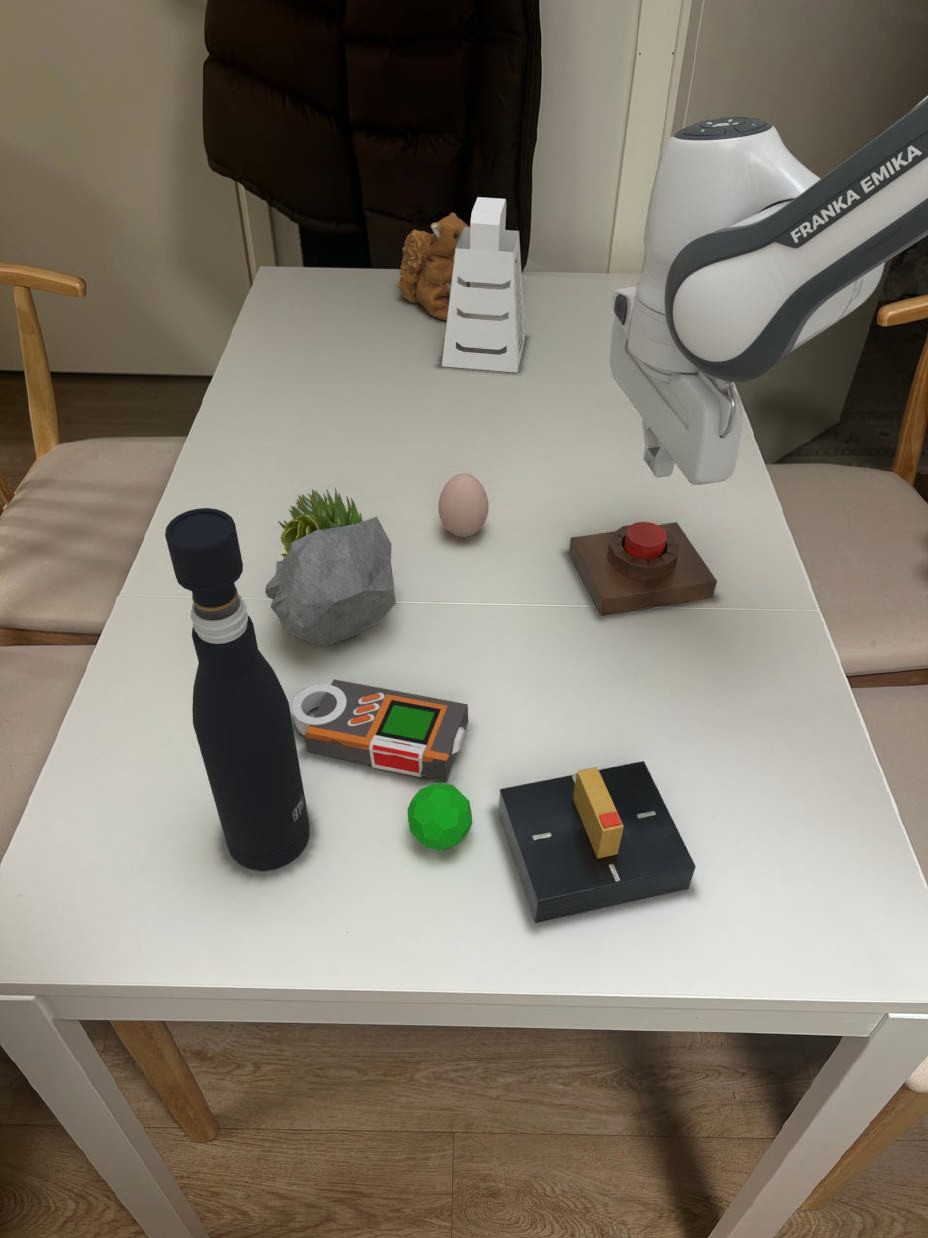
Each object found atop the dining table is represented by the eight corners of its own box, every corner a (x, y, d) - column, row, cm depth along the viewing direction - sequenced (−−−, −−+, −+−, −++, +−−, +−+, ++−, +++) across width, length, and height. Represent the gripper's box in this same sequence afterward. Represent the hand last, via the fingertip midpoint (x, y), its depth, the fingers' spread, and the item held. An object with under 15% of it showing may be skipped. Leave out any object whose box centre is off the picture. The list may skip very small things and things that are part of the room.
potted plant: (261, 655, 82) (209, 528, 89) (359, 668, 93) (306, 554, 99) (349, 570, 78) (287, 442, 84) (442, 593, 88) (380, 478, 94)
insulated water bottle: (222, 812, 74) (137, 504, 54) (302, 793, 76) (249, 486, 55) (232, 881, 70) (144, 572, 49) (317, 859, 71) (265, 551, 51)
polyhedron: (407, 809, 75) (406, 772, 71) (469, 806, 75) (470, 769, 72) (409, 863, 71) (407, 827, 68) (473, 860, 71) (475, 823, 68)
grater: (525, 337, 135) (533, 193, 122) (517, 372, 128) (526, 223, 114) (453, 332, 136) (454, 188, 123) (441, 366, 129) (441, 217, 115)
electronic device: (307, 671, 82) (471, 702, 79) (312, 694, 84) (472, 725, 81) (276, 727, 78) (448, 762, 74) (281, 750, 80) (450, 785, 76)
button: (654, 532, 96) (657, 519, 95) (670, 556, 93) (673, 542, 92) (618, 538, 95) (620, 524, 94) (632, 562, 92) (635, 548, 91)
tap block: (638, 783, 77) (644, 759, 75) (688, 889, 70) (696, 865, 68) (498, 811, 75) (499, 787, 72) (535, 923, 68) (538, 900, 65)
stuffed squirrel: (459, 326, 138) (460, 235, 129) (380, 303, 143) (376, 215, 134) (493, 301, 144) (496, 214, 135) (416, 281, 149) (415, 195, 140)
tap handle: (572, 798, 72) (577, 768, 69) (592, 794, 72) (597, 764, 70) (597, 859, 68) (603, 829, 65) (617, 854, 68) (624, 824, 66)
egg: (443, 550, 99) (443, 493, 94) (434, 520, 103) (434, 464, 98) (492, 545, 100) (494, 487, 95) (481, 515, 104) (483, 459, 99)
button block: (673, 537, 101) (679, 507, 98) (713, 597, 94) (721, 566, 91) (568, 553, 99) (571, 523, 96) (600, 615, 92) (605, 585, 89)
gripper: (776, 387, 72) (737, 530, 81) (670, 277, 86) (647, 410, 95) (700, 395, 70) (669, 540, 80) (606, 283, 85) (589, 417, 94)
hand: (657, 468), depth 88 cm, fingers closed
